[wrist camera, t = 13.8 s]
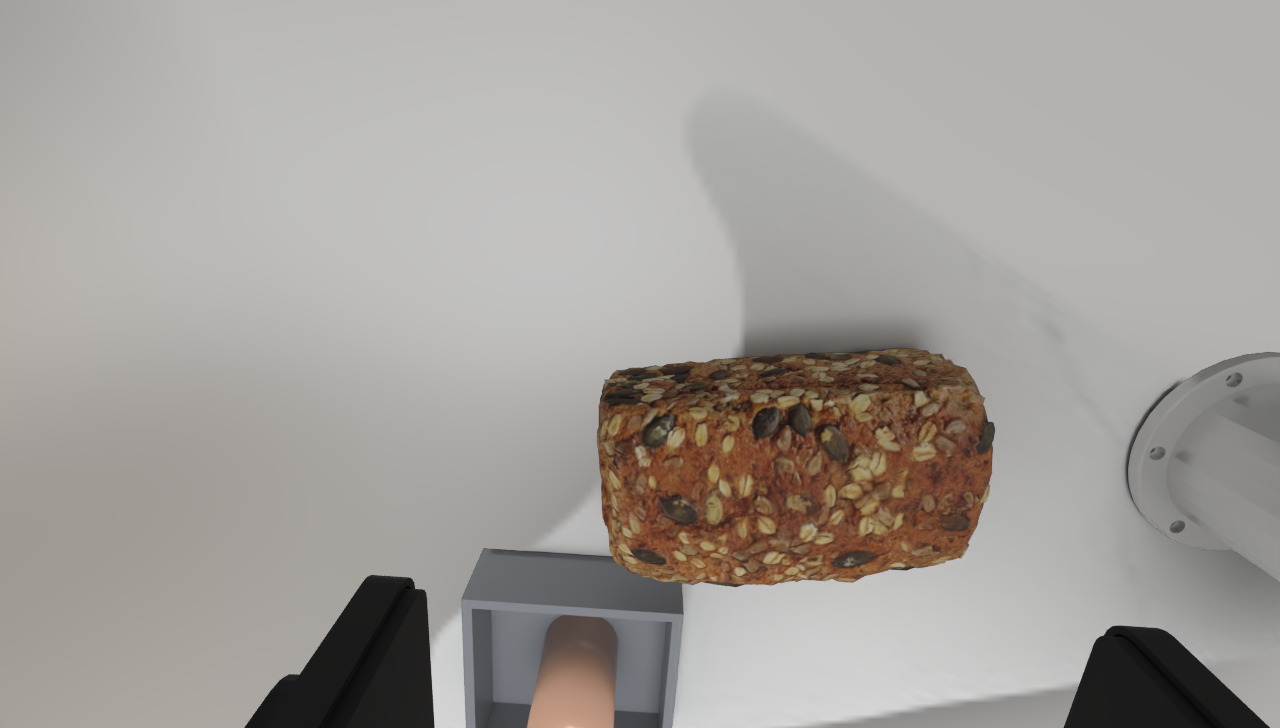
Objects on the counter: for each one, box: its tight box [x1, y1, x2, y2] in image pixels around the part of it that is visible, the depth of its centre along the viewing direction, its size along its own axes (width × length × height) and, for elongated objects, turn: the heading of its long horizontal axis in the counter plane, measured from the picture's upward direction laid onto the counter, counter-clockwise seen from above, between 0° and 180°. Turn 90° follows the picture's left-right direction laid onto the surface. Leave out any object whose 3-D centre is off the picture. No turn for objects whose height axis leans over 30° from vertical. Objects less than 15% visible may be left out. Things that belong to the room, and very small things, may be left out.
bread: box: [597, 348, 995, 587], centre depth 34 cm, size 19×11×10 cm, turn 94°
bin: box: [461, 548, 683, 728], centre depth 41 cm, size 13×13×5 cm
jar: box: [527, 615, 618, 728], centre depth 39 cm, size 5×5×8 cm
